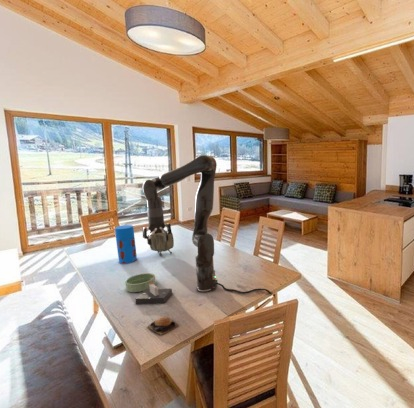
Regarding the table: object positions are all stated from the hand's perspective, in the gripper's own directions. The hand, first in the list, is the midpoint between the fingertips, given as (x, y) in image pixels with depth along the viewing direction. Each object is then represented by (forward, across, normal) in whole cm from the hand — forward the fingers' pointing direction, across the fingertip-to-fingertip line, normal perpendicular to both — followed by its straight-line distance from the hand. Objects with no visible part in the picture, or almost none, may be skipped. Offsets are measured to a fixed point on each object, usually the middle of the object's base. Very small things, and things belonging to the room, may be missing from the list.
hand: (158, 243), depth 155 cm
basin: (+26, -8, +8) cm, 29 cm away
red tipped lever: (+23, -8, -11) cm, 27 cm away
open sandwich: (+26, -16, -40) cm, 50 cm away
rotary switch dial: (+26, -8, -11) cm, 30 cm away
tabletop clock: (+26, +20, +53) cm, 63 cm away
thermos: (+26, -1, +59) cm, 64 cm away
